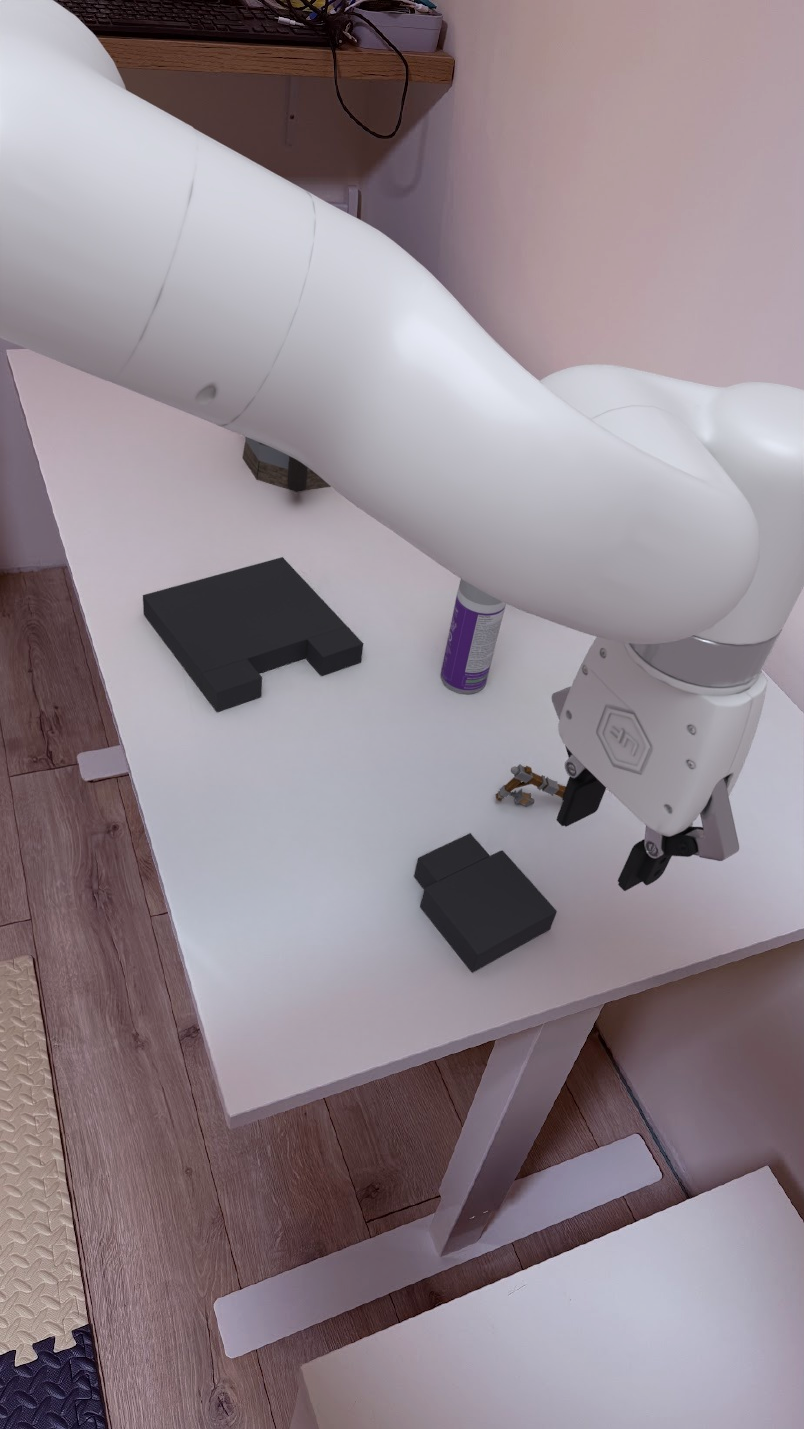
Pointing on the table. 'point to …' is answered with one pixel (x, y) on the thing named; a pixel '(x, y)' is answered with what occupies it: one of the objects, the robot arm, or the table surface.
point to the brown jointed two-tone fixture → (528, 778)
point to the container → (471, 639)
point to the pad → (480, 901)
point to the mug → (279, 468)
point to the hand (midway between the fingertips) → (606, 845)
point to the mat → (248, 629)
